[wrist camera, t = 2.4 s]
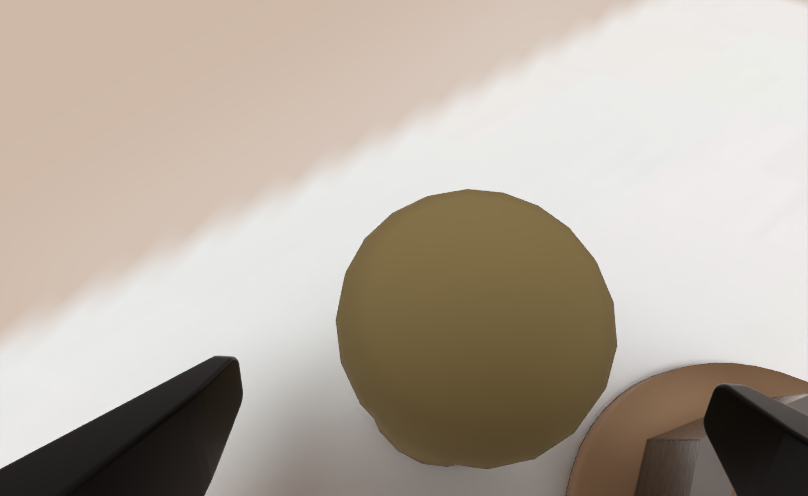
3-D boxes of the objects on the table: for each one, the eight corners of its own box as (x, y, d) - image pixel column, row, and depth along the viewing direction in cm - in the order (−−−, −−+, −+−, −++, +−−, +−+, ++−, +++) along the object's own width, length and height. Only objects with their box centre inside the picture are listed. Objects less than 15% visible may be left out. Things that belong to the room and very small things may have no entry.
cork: (419, 282, 18) (427, 92, 8) (544, 360, 17) (734, 242, 7) (334, 402, 16) (211, 340, 6) (468, 504, 15) (581, 632, 5)
